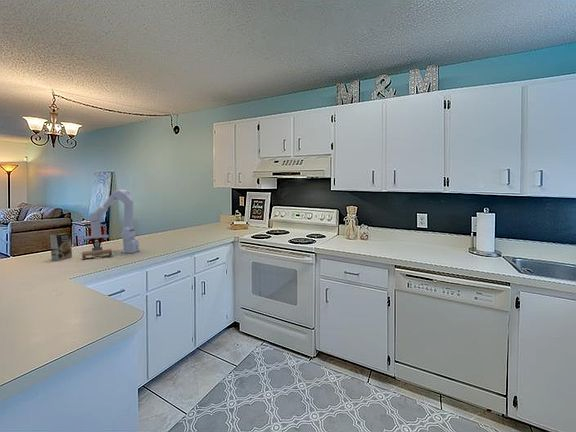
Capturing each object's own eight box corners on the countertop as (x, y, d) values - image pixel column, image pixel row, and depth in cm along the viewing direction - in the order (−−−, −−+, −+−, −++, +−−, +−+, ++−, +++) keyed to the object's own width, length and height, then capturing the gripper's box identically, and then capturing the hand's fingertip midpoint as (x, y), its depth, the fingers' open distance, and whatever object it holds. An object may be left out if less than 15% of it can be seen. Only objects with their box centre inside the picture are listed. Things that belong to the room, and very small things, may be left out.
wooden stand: (82, 257, 195) (82, 251, 194) (111, 254, 203) (111, 249, 203) (82, 260, 189) (82, 254, 189) (111, 257, 198) (111, 251, 197)
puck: (103, 257, 198) (103, 256, 198) (98, 259, 193) (98, 257, 193) (97, 257, 198) (96, 255, 198) (91, 259, 194) (91, 257, 193)
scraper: (92, 251, 213) (91, 241, 212) (102, 250, 216) (101, 240, 215) (92, 256, 200) (91, 245, 199) (102, 254, 203) (102, 244, 202)
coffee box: (59, 260, 188) (57, 235, 186) (51, 259, 189) (49, 234, 187) (72, 257, 197) (71, 232, 195) (64, 256, 198) (62, 232, 196)
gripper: (107, 228, 218) (108, 246, 220) (83, 229, 211) (85, 248, 212) (108, 229, 212) (109, 248, 214) (83, 231, 205) (84, 250, 206)
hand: (97, 248), depth 213 cm, fingers closed on scraper, 2 cm apart
